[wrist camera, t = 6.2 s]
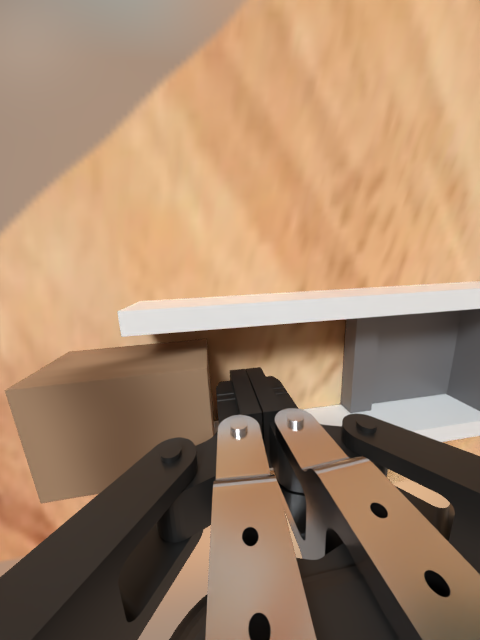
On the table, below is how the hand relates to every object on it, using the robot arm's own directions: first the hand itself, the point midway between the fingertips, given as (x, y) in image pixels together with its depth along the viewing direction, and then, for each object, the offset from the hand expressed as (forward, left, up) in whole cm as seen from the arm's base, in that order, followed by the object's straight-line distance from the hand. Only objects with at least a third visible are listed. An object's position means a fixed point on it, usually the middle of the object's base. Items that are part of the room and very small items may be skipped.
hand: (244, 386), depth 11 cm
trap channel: (-5, 0, -2) cm, 6 cm away
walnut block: (+5, +1, -2) cm, 6 cm away
